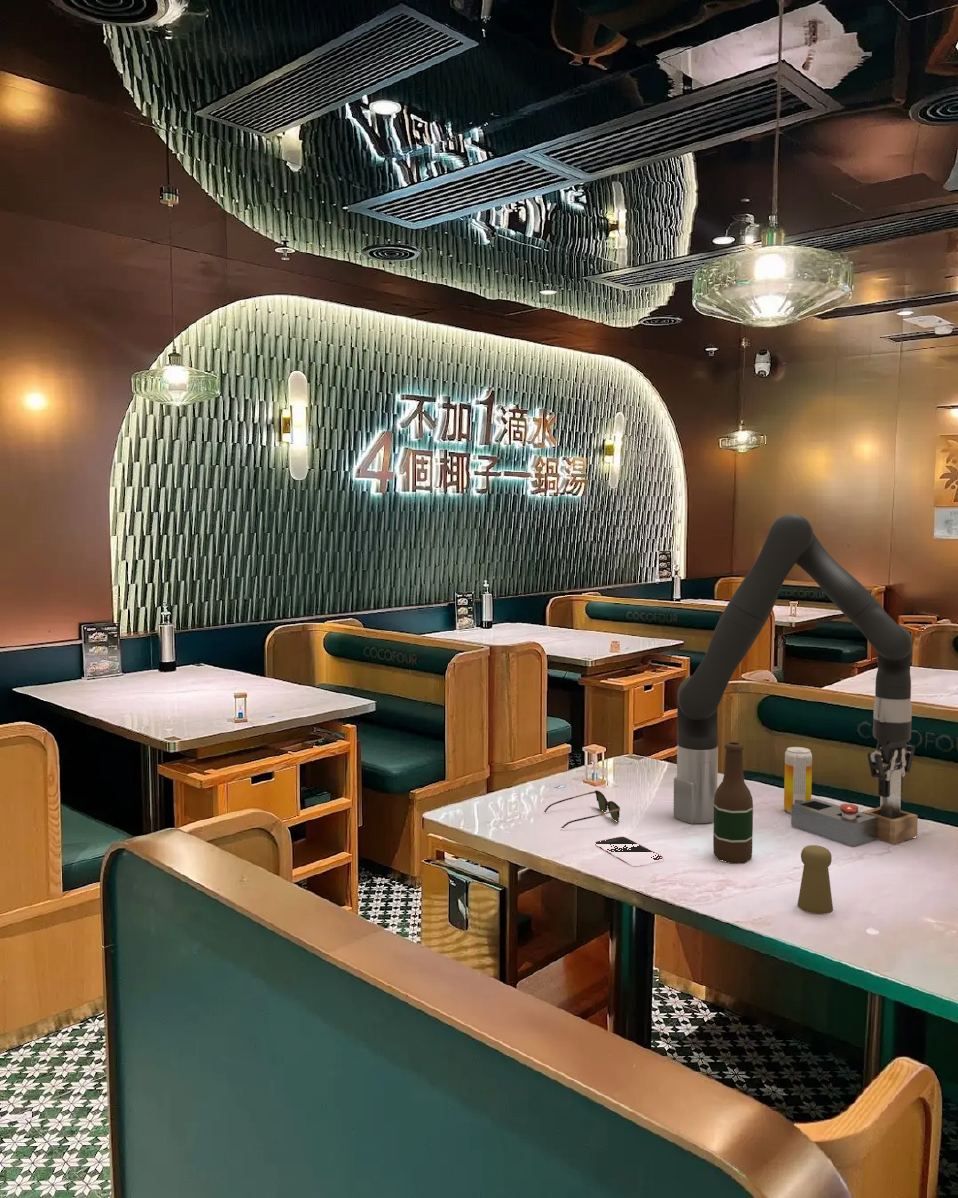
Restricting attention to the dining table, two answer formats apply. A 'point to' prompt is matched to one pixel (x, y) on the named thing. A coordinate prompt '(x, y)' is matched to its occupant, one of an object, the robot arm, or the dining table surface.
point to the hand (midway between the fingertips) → (890, 794)
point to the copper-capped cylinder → (849, 811)
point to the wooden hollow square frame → (894, 826)
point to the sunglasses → (602, 803)
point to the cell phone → (625, 841)
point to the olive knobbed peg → (815, 880)
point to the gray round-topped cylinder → (892, 796)
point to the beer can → (797, 776)
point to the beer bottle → (733, 811)
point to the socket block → (833, 822)
